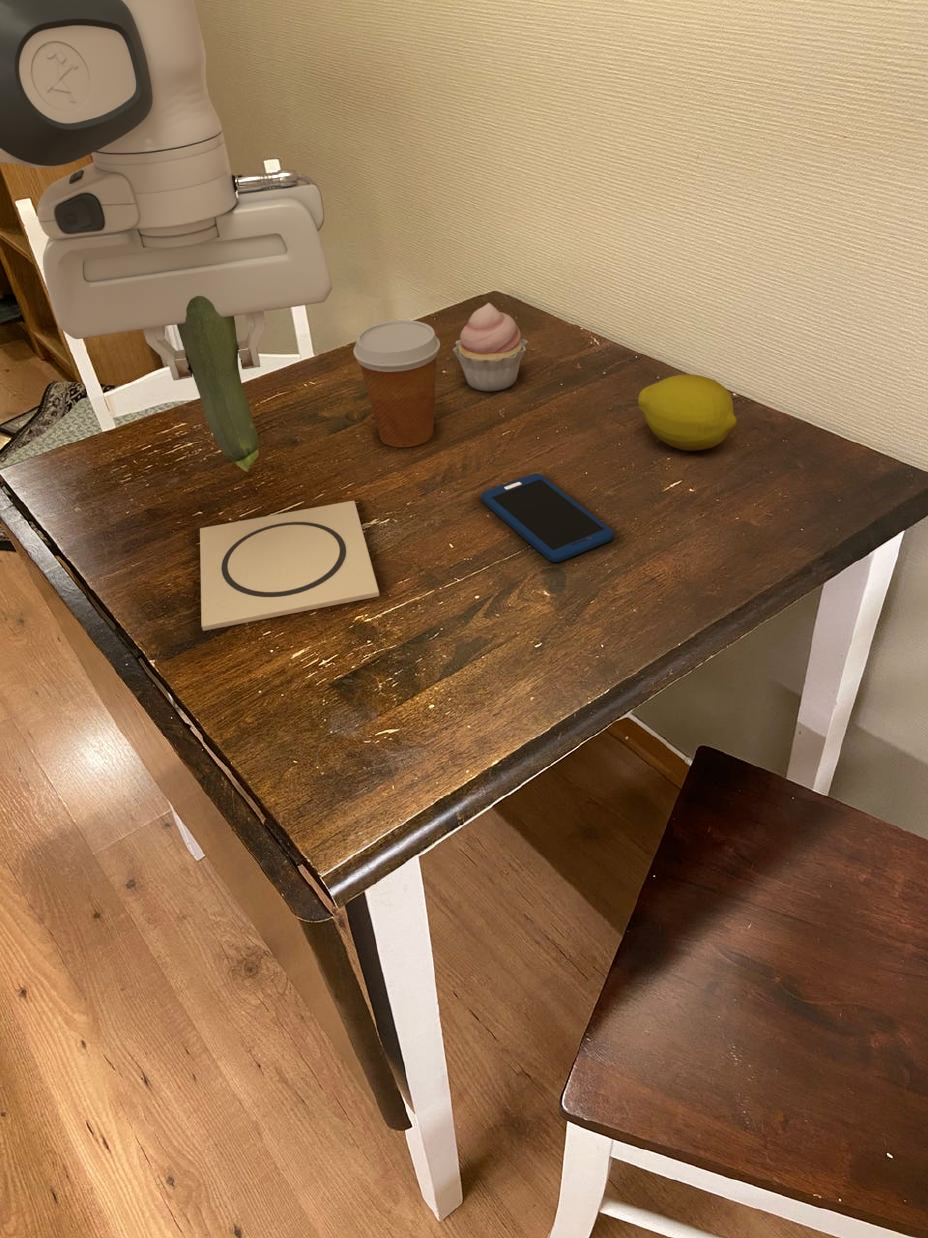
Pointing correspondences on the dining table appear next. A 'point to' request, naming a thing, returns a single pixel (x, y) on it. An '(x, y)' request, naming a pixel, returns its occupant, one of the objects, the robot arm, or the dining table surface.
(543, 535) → the cell phone
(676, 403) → the lemon
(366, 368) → the disposable coffee cup
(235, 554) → the board
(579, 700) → the dining table surface
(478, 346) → the cupcake
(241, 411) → the vegetable
